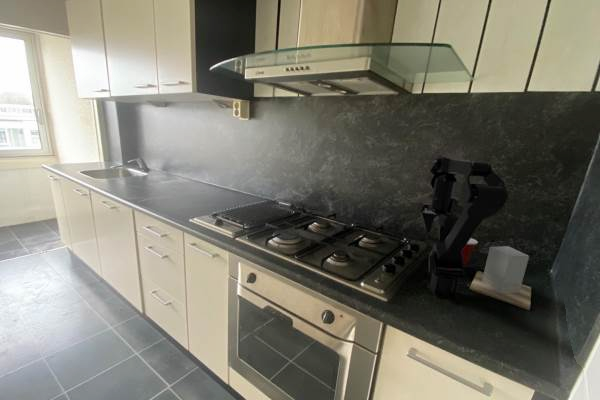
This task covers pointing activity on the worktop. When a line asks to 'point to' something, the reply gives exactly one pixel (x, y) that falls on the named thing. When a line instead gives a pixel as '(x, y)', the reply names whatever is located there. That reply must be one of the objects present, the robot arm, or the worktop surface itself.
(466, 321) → the worktop surface
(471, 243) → the plastic cup
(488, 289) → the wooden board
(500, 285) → the supplement box
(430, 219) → the robot arm
